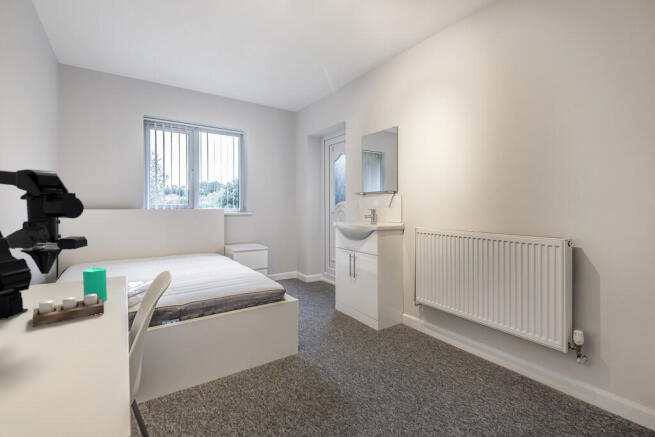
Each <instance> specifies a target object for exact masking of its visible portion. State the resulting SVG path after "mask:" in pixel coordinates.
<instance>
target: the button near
mask: <svg viewBox="0 0 655 437" xmlns="http://www.w3.org/2000/svg"><path fill="white" fill-rule="evenodd" d="M54 305H55V301H54V300H45V301H41V302H39V303H38V308H39V314H44V313H50V312H54Z"/></svg>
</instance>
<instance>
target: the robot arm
mask: <svg viewBox="0 0 655 437" xmlns="http://www.w3.org/2000/svg"><path fill="white" fill-rule="evenodd" d="M0 185H6V186H14V187H16V188H17V189H19V190H22V191H25V193H24V194H22V195H20V200H24V201H25V200H26V216H27V217H26V218H27V220H26V221H23V222H22V224H21V225H22V228H20V229H18V230H15V231H14V232H11V233H10V234H8V235H6V236H5V237H4V235H3V233H2V231H1V230H0V320H5V319H6V320H7V319H9V318H12V317H15V316H17V315H20V314H22V313H25V312H28V311H29V308H24V300H23V299H24V298H23V296H22V292H23V291H27V290H29V288H30V284H31V282H32V277H33V274H32V272H31V271H32V269H31V268H30V267H29V264H28V263H27V260H26V259H25V258H17V257H15V256H13V254H12V252H11V249H12V250H15V249H21V250H19V252H21V253H23V254H26V255H28V256H29V257H31V259H32V260H33V262H34V264H35V265H36V267H37V268H38V271H39V272H40V275H47V274H49V273H50V272H51V269H52V268H53V266H54V263H55V262H56V260H57V258H58V257H59V255H60V254H61V252H62V251H63V250H76V249H81V248H84V247H88V239H87V238H86V236H84V235H83V236H82V235H81V236H80V235H79V236H78V235H77V236H75V235H73V236H72V235H71V236H67V237H62V234H61V233H60V234H58V225H59V224H61V219H77V218H79V217H80V216H82V214H83V213H84V211H85V210H84V209H85V207H84V206H85V205H84V204H83V202H82V201H81V199H80V198H78V197H77V195H76V192H69V189H68V188H67V187H66V186H65V184H64V182H63V181H62V180H61V178H60V177H59V175H58V172H56V171H53V170H44V169H43V170H41V169H27V168H26V169H20V170H16V171H10V170H2V169H1V170H0Z"/></svg>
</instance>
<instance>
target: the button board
mask: <svg viewBox="0 0 655 437" xmlns="http://www.w3.org/2000/svg"><path fill="white" fill-rule="evenodd" d="M76 306H77V308H72V309H66V310H63V303H60V304H56V305H55V304H54V312H50V313H44V314H39V307H38V308H33V312H32V327H33V328H36V327H37V328H38V327H42V326H47V325H51V324H57V323H60V322H61V323H62V322H67V321H72V320H76V319H82V318H86V317H92V316H96V315H95V314H97V315H101V314H100V313H102V314H105V306H104V302H102V300H101V298H97V304H94V305H89V306H84V299H83V300H79V301H77V300H76ZM91 315H92V316H91Z"/></svg>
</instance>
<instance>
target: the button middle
mask: <svg viewBox="0 0 655 437" xmlns="http://www.w3.org/2000/svg"><path fill="white" fill-rule="evenodd" d="M76 302H77V297H76V296H69V297H65V298H63V299H62V304H63V310H66V309H72V308H77V306H76Z"/></svg>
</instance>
